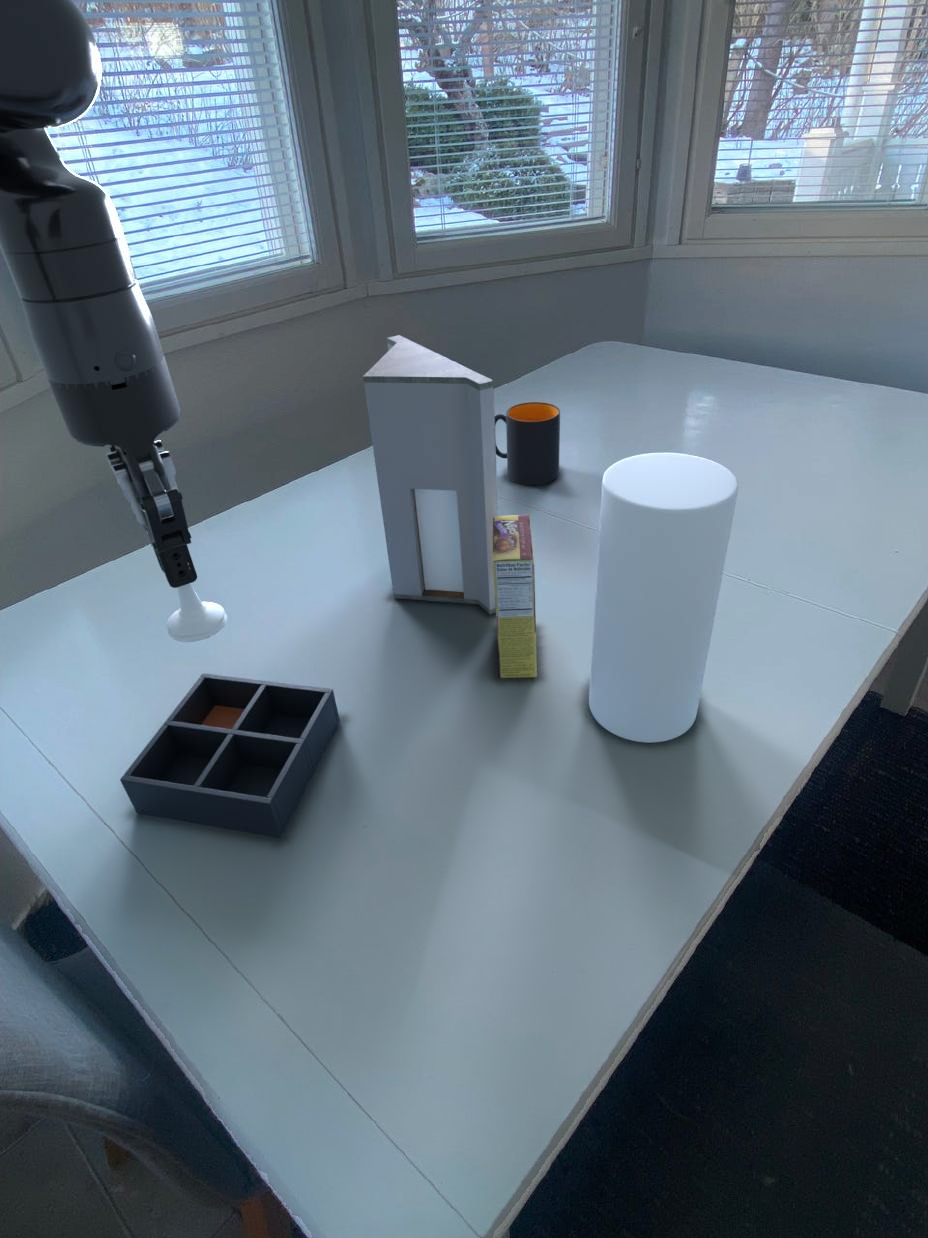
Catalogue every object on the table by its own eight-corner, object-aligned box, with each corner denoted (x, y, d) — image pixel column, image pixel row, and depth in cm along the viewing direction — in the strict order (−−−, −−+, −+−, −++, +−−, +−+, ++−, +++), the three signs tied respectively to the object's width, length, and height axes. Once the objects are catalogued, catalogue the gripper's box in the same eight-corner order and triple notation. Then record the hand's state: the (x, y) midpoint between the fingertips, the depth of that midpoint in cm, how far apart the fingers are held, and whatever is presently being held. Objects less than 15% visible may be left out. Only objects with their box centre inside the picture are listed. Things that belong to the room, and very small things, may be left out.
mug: (504, 455, 124) (503, 395, 118) (568, 468, 119) (569, 406, 112) (478, 474, 119) (475, 412, 113) (543, 489, 113) (543, 425, 107)
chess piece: (199, 602, 65) (165, 501, 59) (239, 616, 63) (208, 513, 57) (155, 632, 62) (115, 529, 56) (196, 648, 60) (158, 542, 54)
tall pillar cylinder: (658, 659, 79) (687, 442, 65) (719, 723, 71) (768, 492, 56) (570, 686, 77) (579, 466, 62) (622, 756, 69) (647, 522, 54)
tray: (280, 838, 63) (269, 804, 61) (136, 813, 67) (119, 779, 64) (340, 722, 75) (333, 688, 72) (214, 705, 78) (202, 673, 75)
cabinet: (501, 610, 88) (493, 380, 72) (431, 638, 85) (406, 403, 68) (420, 539, 103) (399, 334, 87) (358, 560, 100) (323, 351, 83)
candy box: (497, 629, 85) (492, 514, 76) (533, 628, 85) (533, 512, 76) (496, 680, 78) (491, 559, 69) (537, 679, 78) (537, 558, 69)
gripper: (34, 348, 52) (116, 554, 63) (58, 402, 43) (151, 634, 53) (141, 328, 55) (203, 527, 66) (186, 373, 46) (251, 599, 56)
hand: (179, 574), depth 59 cm, fingers closed on chess piece
